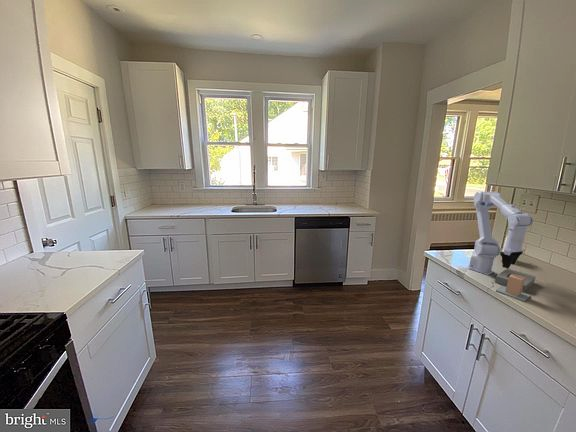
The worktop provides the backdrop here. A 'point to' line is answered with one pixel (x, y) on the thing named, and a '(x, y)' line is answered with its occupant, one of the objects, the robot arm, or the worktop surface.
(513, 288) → the plug
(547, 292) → the worktop surface
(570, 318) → the worktop surface
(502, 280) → the plate
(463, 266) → the worktop surface
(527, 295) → the mat
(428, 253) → the worktop surface
